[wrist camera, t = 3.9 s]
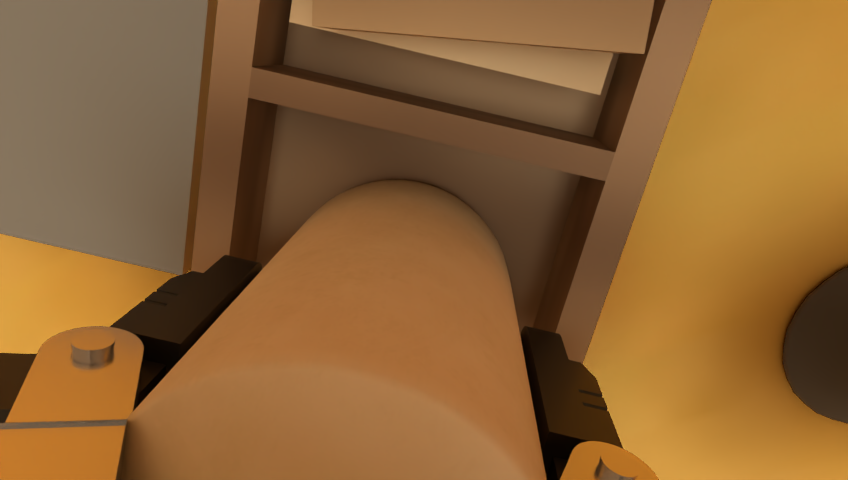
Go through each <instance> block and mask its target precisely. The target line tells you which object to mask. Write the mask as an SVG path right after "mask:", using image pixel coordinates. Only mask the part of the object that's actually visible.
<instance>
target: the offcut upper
mask: <svg viewBox="0 0 848 480" xmlns="http://www.w3.org/2000/svg"><path fill="white" fill-rule="evenodd" d="M653 5H654V0H312V26H315V27H321V28H328V29H335V30H346V31H358V32H370V33H382V34H394V35H406V36H417V37H429V38H441V39H453V40H465V41H477V42H489V43H501V44H513V45H525V46H537V47H549V48H561V49H573V50H584V51H596V52H608V53H629V54H644V52H645V47H646V42H647V37H648V32H649V26H650V21H651V16H652V11H653Z"/></svg>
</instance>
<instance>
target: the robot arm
mask: <svg viewBox="0 0 848 480" xmlns="http://www.w3.org/2000/svg"><path fill="white" fill-rule="evenodd" d="M261 270H262V265H261V263H259V262H254V261H250V260H246V259H242V258H237V257H233V256H229V255H224V256H222V257H221V258H220V259H219V260H218V261H217V262H216V263H214V264H213V265H212V266H211V267H210V268H209V269H207V270H206V271H205V272H204V273H200V272H196V271H192V272H189V273H186V274H183V275H180V276H176V277H173V278H171V279H170V280H168V281H167V282H166V283H165V284H163V285H162V286H161V287H160V288H158V289H157V292H153V293H152V294H151V295H149V296H148V297H147V298H146V299H145V301H144V302H143V301H142V302H141V303H139V304H138V305H137V306H136V307H134V308H133V309H132V310H130V311H129V312H128V313H127V314H125V315H124V316H123V317H122V318H120V319H119V320H118V321H117V322H115V323H114V324H113V325H111V326H110V327H104V326H91V327H81V328H75V329H71V330H67V331H64V332H62V333H59V334H57V335H55V336H53V337H51V338H50V339H48V340H47V341H45V342H44V343H43V344H42V346H41V347H40V349H39V351H38V353H37V354H13V353H0V480H121V477H122V468H123V460H124V451H125V443H126V435H127V427H128V419H127V418H128V417H129V416H130V414H131V413H132V412H133V411H134V410H135V409H136V408H137V407H138V406H139V404H140V403H141V402H142V401H143V400H144V399H145V398H146V397H147V396H148V395H149V393H150V392H151V391H152V390H153V389H154V388H155V387H156V386H157V385H158V384H159V382H160V381H161V380H162V379H163V378H164V377H165V376H166V375H167V374H168V373H169V371H170V370H171V369H172V368H173V367H174V366H175V365H176V364H177V363H178V362H179V360H180V359H181V358H182V357H183V356H184V355H185V354H186V353H187V352H188V351H189V349H190V348H191V347H192V346H193V345H194V344H195V343H196V342H197V341H198V340H199V338H200V337H201V336H202V335H203V334H204V333H205V332H206V331H207V330H208V329H209V327H210V326H211V325H212V324H213V323H214V322H215V321H216V320H217V319H218V318H219V316H220V315H221V314H222V313H223V312H224V311H225V310H226V309H227V308H228V307H229V306H230V304H231V303H232V302H233V301H234V300H235V299H236V298H237V297H238V296H239V295H240V293H241V292H242V291H243V290H244V289H245V288H246V287H247V286H248V285H249V284H250V282H251V281H252V280H253V279H254V278H255V277H256V276H257V275H258V274H259V273H260V271H261ZM520 337H521V342H522V347H523V353H524V358H525V364H526V369H527V375H528V380H529V386H530V391H531V397H532V402H533V407H534V413H535V418H536V424H537V429H538V435H539V440H540V446H541V451H542V457H543V462H544V467H545V473H546V478H547V480H659V479H658V477H657V476H656V474H655V473H654V472H653V471H652V469H651V468H650V467H649V466H648V465H647V464H645V463H644V462H643V461H642V460H641V459H639V458H638V457H636V456H635V455H633V454H632V453H630V452H628V451H626V450H624V449H623V447H622V445H621V442H620V439H619V437H618V434H617V432H616V429H615V427H614V424H613V421H612V419H611V416H610V414H609V412H608V411H607V406H606V403H605V401H604V398H602V393H601V390H600V388H599V385H598V383H597V380H596V378H595V377H594V376H593V375H592V374H591V373H590V372H589V371H588V370H587V369H586V368H585V366H584V365H583V364H582V363H581V362H576V361H572V360H569V359H568V356H567V353H566V350H565V347H564V344H563V340H562V337H561V335H560V334H558V333H554V332H549V331H545V330H541V329H537V328H532V327H528V326H524V327H523V329H522V331H521V333H520Z"/></svg>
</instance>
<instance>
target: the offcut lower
mask: <svg viewBox="0 0 848 480" xmlns="http://www.w3.org/2000/svg"><path fill="white" fill-rule="evenodd" d="M289 22H292V23H296V24H300V25H304V26H309V27H313V28H317V29H321V30H326V31H330V32H334V33H338V34H343V35H347V36H351V37H355V38H360V39H364V40H368V41H372V42H377V43H381V44H385V45H389V46H394V47H398V48H402V49H406V50H411V51H415V52H419V53H423V54H428V55H432V56H436V57H440V58H445V59H449V60H453V61H457V62H462V63H466V64H470V65H474V66H479V67H483V68H487V69H491V70H496V71H500V72H504V73H508V74H513V75H517V76H521V77H525V78H530V79H534V80H538V81H542V82H546V83H551V84H555V85H559V86H563V87H568V88H572V89H576V90H580V91H585V92H589V93H593V94H597V95H600V94H601V91H602V88H603V84H604V81H605V78H606V75H607V72H608V68H609V65H610V62H611V59H612V56H613V53H608V52H596V51H584V50H573V49H561V48H549V47H537V46H525V45H513V44H501V43H489V42H477V41H465V40H453V39H441V38H429V37H417V36H406V35H394V34H382V33H370V32H358V31H346V30H335V29H328V28H321V27H315V26H312V0H292V5H291V12H290V20H289Z"/></svg>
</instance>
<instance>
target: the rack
mask: <svg viewBox="0 0 848 480" xmlns="http://www.w3.org/2000/svg"><path fill="white" fill-rule="evenodd" d="M711 1H712V0H654V5H653V11H652V16H651V21H650V26H649V32H648V37H647V42H646V47H645V52H644V54H629V53H613V56H612V59H611V62H610V65H609V68H608V72H607V75H606V78H605V81H604V84H603V88H602V91H601V94H600V95H597V94H593V93H589V92H585V91H580V90H576V89H572V88H568V87H563V86H559V85H555V84H551V83H546V82H542V81H538V80H534V79H530V78H525V77H521V76H517V75H513V74H508V73H504V72H500V71H496V70H491V69H487V68H483V67H479V66H474V65H470V64H466V63H462V62H457V61H453V60H449V59H445V58H440V57H436V56H432V55H428V54H423V53H419V52H415V51H411V50H406V49H402V48H398V47H394V46H389V45H385V44H381V43H377V42H372V41H368V40H364V39H360V38H355V37H351V36H347V35H343V34H338V33H334V32H330V31H326V30H321V29H317V28H313V27H309V26H304V25H300V24H296V23H292V22H289V20H290V12H291V5H292V0H218V5H217V15H216V25H215V35H214V45H213V56H212V66H211V76H210V86H209V96H208V106H207V116H206V126H205V136H204V147H203V157H202V167H201V177H200V187H199V197H198V207H197V217H196V227H195V238H194V248H193V258H192V268H191V272H192V271H196V272H200V273H204V272H205V271H206V270H207V269H209V268H210V267H211V266H212V265H213V264H214V263H216V262H217V261H218V260H219V259H220V258H221V257H222V256H224V255H229V256H233V257H237V258H242V259H246V260H250V261H254V262H259V263H261V265H262V269H263V268H264V267H265V266H266V265H267V264H268V263H269V262H270V260H271V259H272V258H273V257H274V256H275V255H276V254H277V253H278V252H279V251H280V249H281V248H282V247H283V246H284V245H285V244H286V243H287V242H288V241H289V240H290V239H291V237H292V236H293V235H294V234H295V233H296V232H297V231H298V230H299V229H300V228H301V226H302V225H303V224H304V223H305V222H306V221H307V220H308V219H309V218H310V217H311V216H312V215H313V214H314V213H315V212H316V211H317V210H318V209H319V208H320V207H322V206H323V205H324V204H325V203H326V202H328V201H329V200H331V199H332V198H334V197H335V196H337V195H339V194H340V193H342V192H345V191H347V190H349V189H351V188H354V187H357V186H360V185H363V184H367V183H370V182H376V181H382V180H408V181H416V182H420V183H424V184H428V185H431V186H434V187H437V188H439V189H442V190H444V191H446V192H448V193H450V194H452V195H454V196H455V197H457V198H458V199H460V200H461V201H463V202H464V203H465V204H467V205H468V206H469V207H470V208H471V209H473V210H474V211H475V212H476V213H477V214H478V215H479V216H480V217H481V219H482V220H483V221H484V222H485V224H486V225H487V226H488V227H489V228H490V230H491V231H492V233H493V235H494V236H495V238H496V240H497V241H498V243H499V246H500V248H501V250H502V252H503V255H504V258H505V262H506V265H507V269H508V273H509V277H510V282H511V287H512V293H513V298H514V304H515V309H516V315H517V320H518V326H519V331H520V333H521V331H522V329H523V327H524V326H528V327H532V328H537V329H541V330H545V331H549V332H554V333H558V334H560V335H561V337H562V340H563V344H564V347H565V350H566V353H567V356H568V359H569V360H572V361H576V362H581V363H583V361H584V358H585V355H586V352H587V349H588V347H589V344H590V341H591V338H592V335H593V333H594V330H595V327H596V324H597V321H598V318H599V316H600V313H601V310H602V307H603V304H604V302H605V299H606V296H607V293H608V290H609V288H610V285H611V282H612V279H613V276H614V274H615V271H616V268H617V265H618V262H619V260H620V257H621V254H622V251H623V248H624V245H625V243H626V240H627V237H628V234H629V231H630V229H631V226H632V223H633V220H634V217H635V215H636V212H637V209H638V206H639V203H640V201H641V198H642V195H643V192H644V189H645V187H646V184H647V181H648V178H649V175H650V172H651V170H652V167H653V164H654V161H655V158H656V156H657V153H658V150H659V147H660V144H661V142H662V139H663V136H664V133H665V130H666V128H667V125H668V122H669V119H670V116H671V113H672V111H673V108H674V105H675V102H676V99H677V97H678V94H679V91H680V88H681V85H682V83H683V80H684V77H685V74H686V71H687V69H688V66H689V63H690V60H691V57H692V55H693V52H694V49H695V46H696V43H697V40H698V38H699V35H700V32H701V29H702V26H703V24H704V21H705V18H706V15H707V12H708V10H709V7H710V4H711Z"/></svg>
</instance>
